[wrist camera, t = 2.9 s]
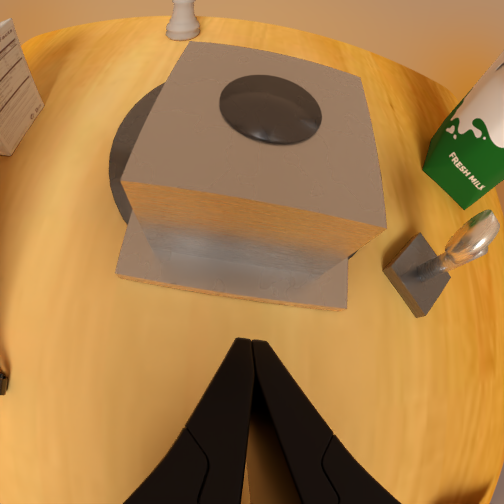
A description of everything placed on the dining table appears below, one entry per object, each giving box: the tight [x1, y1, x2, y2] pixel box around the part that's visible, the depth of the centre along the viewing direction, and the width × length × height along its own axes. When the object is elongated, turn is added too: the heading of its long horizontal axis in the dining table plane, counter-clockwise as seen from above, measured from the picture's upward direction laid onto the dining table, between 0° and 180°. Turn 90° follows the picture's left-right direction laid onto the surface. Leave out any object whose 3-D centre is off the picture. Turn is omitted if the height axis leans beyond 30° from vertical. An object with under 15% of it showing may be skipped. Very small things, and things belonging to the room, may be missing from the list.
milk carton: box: [423, 51, 504, 210], centre depth 17 cm, size 9×9×20 cm
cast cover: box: [115, 41, 387, 311], centre depth 17 cm, size 15×15×9 cm
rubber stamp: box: [383, 210, 500, 318], centre depth 17 cm, size 5×5×10 cm
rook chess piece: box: [166, 0, 200, 41], centre depth 24 cm, size 4×4×8 cm
